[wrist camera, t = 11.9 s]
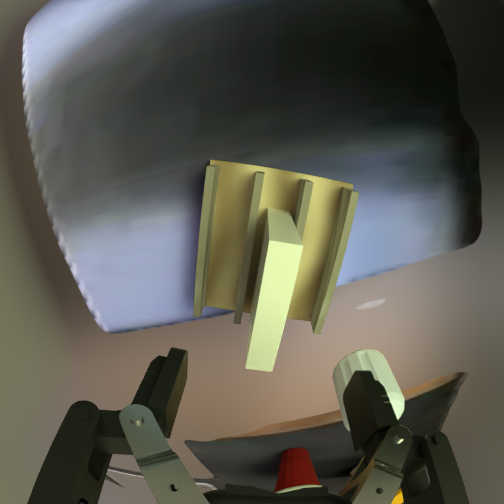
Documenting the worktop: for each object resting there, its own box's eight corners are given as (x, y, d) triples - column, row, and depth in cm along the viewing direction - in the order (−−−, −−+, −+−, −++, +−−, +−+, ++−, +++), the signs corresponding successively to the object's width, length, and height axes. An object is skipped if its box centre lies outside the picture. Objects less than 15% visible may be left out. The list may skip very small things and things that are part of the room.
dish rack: (197, 300, 36) (189, 318, 32) (212, 159, 30) (203, 160, 25) (316, 317, 36) (321, 337, 32) (350, 183, 30) (363, 188, 26)
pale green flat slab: (251, 302, 34) (245, 368, 23) (267, 207, 30) (269, 240, 19) (270, 304, 34) (271, 371, 23) (288, 211, 30) (303, 245, 19)
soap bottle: (320, 374, 40) (345, 516, 17) (364, 338, 37) (421, 483, 14) (353, 393, 41) (385, 514, 18) (394, 361, 39) (447, 483, 16)
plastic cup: (312, 461, 51) (315, 501, 40) (268, 461, 51) (267, 502, 40) (326, 441, 47) (332, 486, 36) (277, 441, 47) (277, 488, 36)
